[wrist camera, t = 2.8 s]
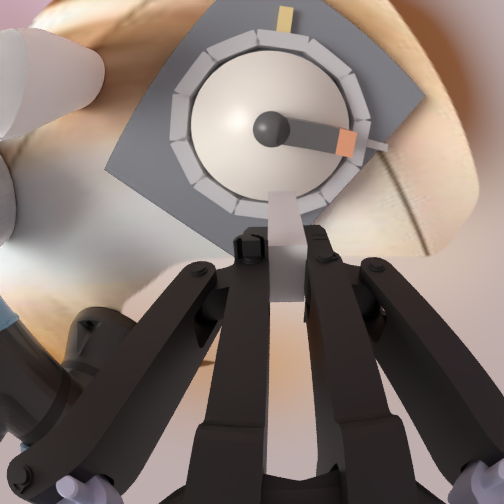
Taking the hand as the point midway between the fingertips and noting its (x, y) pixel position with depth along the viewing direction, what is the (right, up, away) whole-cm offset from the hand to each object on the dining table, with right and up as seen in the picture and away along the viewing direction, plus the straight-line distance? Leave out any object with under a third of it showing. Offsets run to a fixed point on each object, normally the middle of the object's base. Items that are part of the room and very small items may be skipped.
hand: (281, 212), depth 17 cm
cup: (-19, +15, +4) cm, 24 cm away
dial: (0, +8, +5) cm, 9 cm away
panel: (-1, +9, +6) cm, 11 cm away
